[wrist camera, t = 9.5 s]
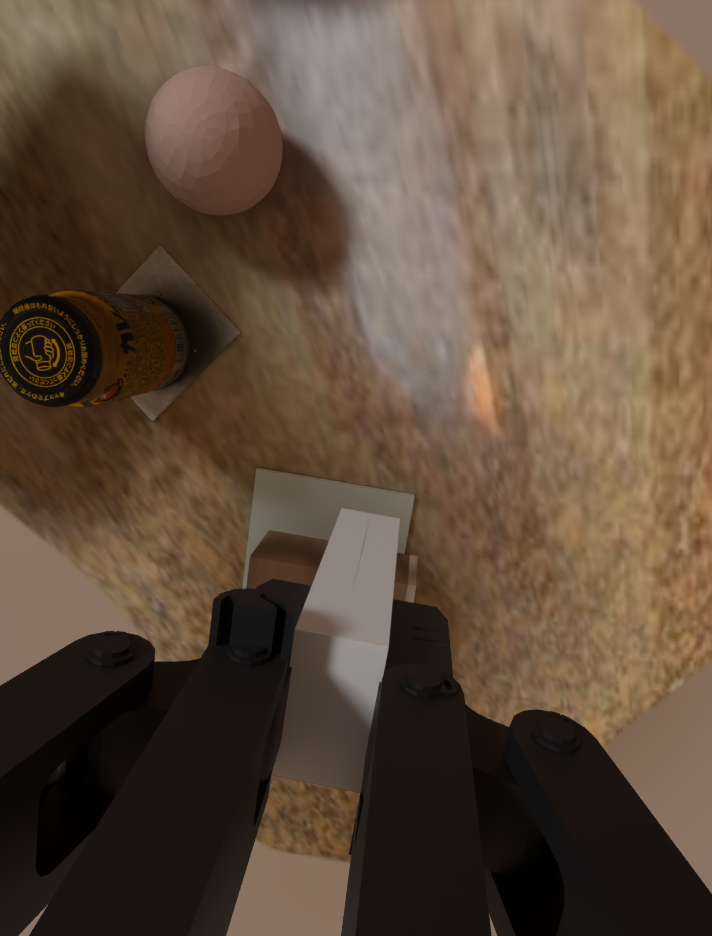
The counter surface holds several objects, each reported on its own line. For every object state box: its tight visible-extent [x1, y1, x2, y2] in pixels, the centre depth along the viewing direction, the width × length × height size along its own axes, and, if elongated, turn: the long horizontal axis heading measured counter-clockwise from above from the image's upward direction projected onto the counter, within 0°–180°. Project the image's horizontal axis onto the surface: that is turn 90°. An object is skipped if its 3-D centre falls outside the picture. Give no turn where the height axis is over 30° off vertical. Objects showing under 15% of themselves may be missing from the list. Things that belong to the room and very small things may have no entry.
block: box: [246, 530, 417, 603], centre depth 42 cm, size 5×5×10 cm
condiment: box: [0, 245, 241, 421], centre depth 37 cm, size 7×8×12 cm
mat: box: [242, 468, 415, 589], centre depth 45 cm, size 10×13×1 cm
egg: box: [145, 66, 283, 216], centre depth 36 cm, size 7×7×8 cm
